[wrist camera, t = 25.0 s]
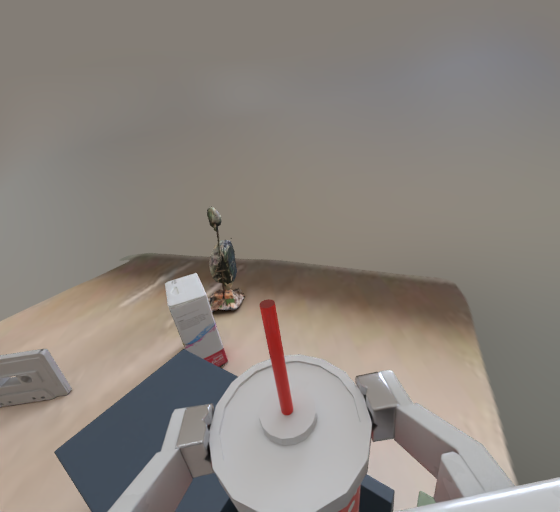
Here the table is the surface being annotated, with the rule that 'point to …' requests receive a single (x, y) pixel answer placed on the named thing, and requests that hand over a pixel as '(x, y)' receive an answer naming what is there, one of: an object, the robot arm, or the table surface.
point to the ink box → (195, 319)
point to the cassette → (30, 378)
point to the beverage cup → (291, 433)
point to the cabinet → (145, 435)
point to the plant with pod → (223, 270)
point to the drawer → (376, 497)
